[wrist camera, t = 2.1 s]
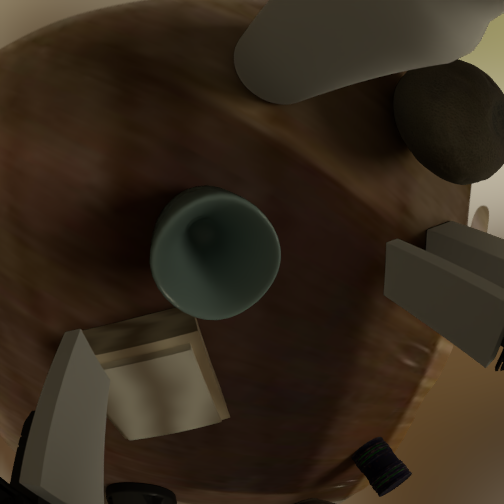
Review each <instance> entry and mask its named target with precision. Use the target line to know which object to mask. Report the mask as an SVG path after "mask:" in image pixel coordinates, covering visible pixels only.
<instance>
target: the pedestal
mask: <svg viewBox="0 0 504 504" xmlns="http://www.w3.org/2000/svg"><path fill="white" fill-rule="evenodd" d="M82 332H83V334H84V336H85V338H86V340H87V342H88V343H89V345H90V347H91V349H92V351H93V352H94V354H95V356H96V358H97V359H98V361H99V363H100V364H101V366H102V368H103V369H104V371H105V373H106V374H107V376H108V378H109V379H110V387H109V395H108V404H107V414H106V416H107V417H108V419H109V420H110V421H111V422H112V423H113V425H114V426H115V427H116V428H117V429H118V430H119V432H120V433H121V434H122V435H123V436H124V437H125V438H126V439H129V440H136V439H143V438H149V437H155V436H161V435H166V434H172V433H177V432H181V431H186V430H191V429H195V428H199V427H203V426H207V425H211V424H215V423H219V422H222V421H221V420H223V419H227V418H230V415H229V412H228V409H227V406H226V403H225V400H224V397H223V394H222V391H221V388H220V385H219V383H218V380H217V377H216V375H215V372H214V369H213V366H212V364H211V361H210V358H209V355H208V352H207V349H206V346H205V343H204V340H203V337H202V334H201V331H200V328H199V325H198V322H197V319H196V317H193V316H191V315H189V314H186V313H184V312H182V311H181V310H179V309H178V308H172V309H168V310H164V311H160V312H157V313H153V314H149V315H145V316H141V317H137V318H133V319H129V320H125V321H121V322H117V323H113V324H109V325H104V326H100V327H96V328H92V329H87V330H83V331H82Z"/></svg>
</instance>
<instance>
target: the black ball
mask: <svg viewBox="0 0 504 504" xmlns="http://www.w3.org/2000/svg"><path fill="white" fill-rule="evenodd" d="M393 109H394V117H395V122H396V125H397V128H398V130H399V133H400V135H401V137H402V139H403V141H404V142H405V144H406V145H407V146H408V148H409V150H410V151H411V152H412V154H413V155H414V157H415V158H416V159H417V160H418V161H419V162H420V163H421V164H422V165H423V166H425V167H426V168H427V169H428V170H430V171H431V172H432V173H434V174H435V175H437V176H438V177H440V178H442V179H444V180H446V181H449V182H451V183H455V184H460V185H466V184H472V183H476V182H479V181H482V180H486V179H488V178H490V177H491V176H492V175H493V174H494V173H496V172H497V171H498V170H499V169H500V168H501V167H502V165H503V164H504V94H503V92H502V91H501V90H500V88H499V87H498V85H497V84H496V83H495V82H494V81H493V80H492V78H491V77H490V76H488V75H487V74H486V73H485V72H483V71H482V70H480V69H479V68H478V67H476V66H474V65H472V64H470V63H467V62H464V61H461V60H458V59H457V60H455V61H452V62H450V63H447V64H441V65H434V66H428V67H423V68H418V69H412V70H408V71H407V72H406V73H405V75H404V76H403V77H402V78H401V79H400V81H399V82H398V84H397V86H396V89H395V92H394V101H393Z"/></svg>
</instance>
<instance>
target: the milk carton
mask: <svg viewBox="0 0 504 504" xmlns="http://www.w3.org/2000/svg"><path fill="white" fill-rule="evenodd" d="M426 251H427V252H430V253H432V254H434V255H436V256H438V257H441V258H443V259H445V260H447V261H449V262H451V263H454V264H456V265H458V266H460V267H462V268H464V269H466V270H468V271H470V272H472V273H474V274H476V275H478V276H480V277H482V278H484V279H486V280H488V281H490V282H492V283H494V284H496V285H498V286H500V287H502V288H504V239H501V238H499V237H496V236H493V235H491V234H488V233H485V232H482V231H480V230H477V229H474V228H471V227H468V226H465V225H462V224H459V223H456V222H453V221H450V222H447V223H445V224H442V225H439V226H436V227H433V228H431V229H428V230H427V239H426Z"/></svg>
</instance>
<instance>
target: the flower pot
mask: <svg viewBox="0 0 504 504" xmlns="http://www.w3.org/2000/svg"><path fill="white" fill-rule="evenodd" d="M295 504H335V503H332V502H328V501H324V500H318V499H317V498H312V499H307V500H304V501H300V502H298V503H295Z"/></svg>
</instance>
